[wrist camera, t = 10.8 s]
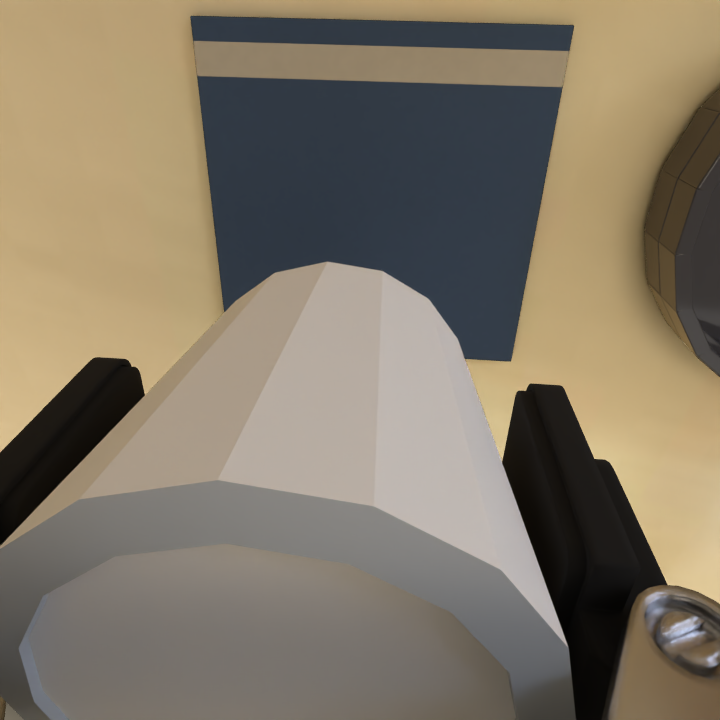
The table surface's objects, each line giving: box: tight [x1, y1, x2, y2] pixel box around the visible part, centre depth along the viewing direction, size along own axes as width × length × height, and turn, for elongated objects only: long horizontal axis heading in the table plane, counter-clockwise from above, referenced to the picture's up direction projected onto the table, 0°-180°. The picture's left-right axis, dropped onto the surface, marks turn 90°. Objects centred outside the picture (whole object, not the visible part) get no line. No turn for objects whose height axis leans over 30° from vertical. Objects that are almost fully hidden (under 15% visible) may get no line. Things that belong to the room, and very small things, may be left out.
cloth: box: [191, 16, 574, 361], centre depth 24 cm, size 14×14×1 cm
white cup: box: [0, 262, 576, 720], centre depth 9 cm, size 7×7×7 cm
